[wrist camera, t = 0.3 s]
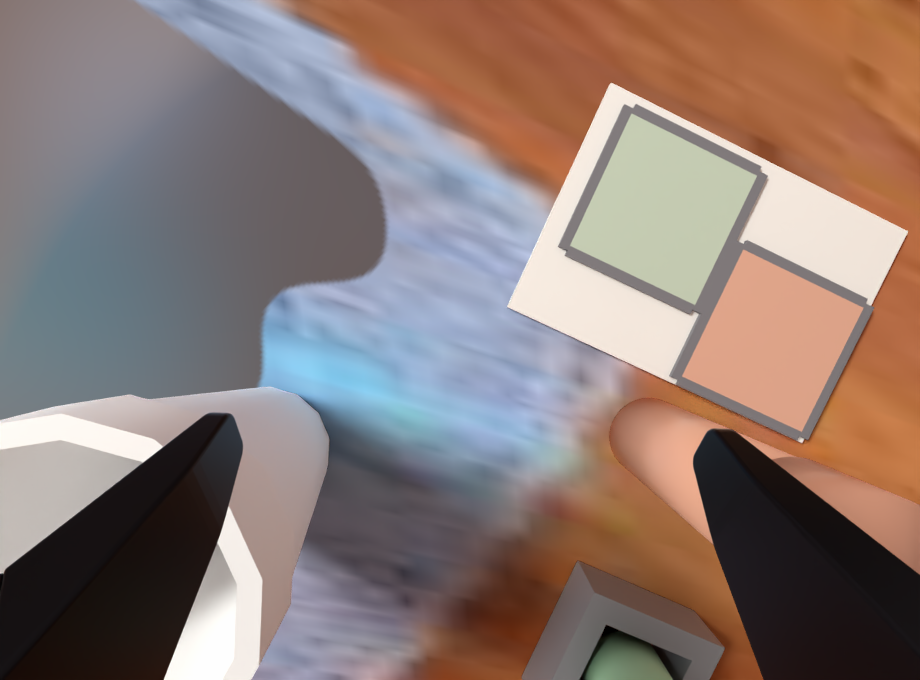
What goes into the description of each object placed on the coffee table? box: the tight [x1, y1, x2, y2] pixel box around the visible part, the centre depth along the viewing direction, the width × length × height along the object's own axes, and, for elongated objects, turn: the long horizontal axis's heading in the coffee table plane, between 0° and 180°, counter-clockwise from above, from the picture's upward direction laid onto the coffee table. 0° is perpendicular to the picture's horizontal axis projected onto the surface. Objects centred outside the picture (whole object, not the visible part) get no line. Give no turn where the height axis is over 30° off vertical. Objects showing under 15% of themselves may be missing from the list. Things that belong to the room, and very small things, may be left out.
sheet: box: [507, 83, 908, 443], centre depth 24 cm, size 12×17×1 cm
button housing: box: [522, 560, 725, 680], centre depth 24 cm, size 7×7×3 cm
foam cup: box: [0, 387, 329, 680], centre depth 17 cm, size 10×9×13 cm
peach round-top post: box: [609, 398, 920, 574], centre depth 18 cm, size 4×4×13 cm
